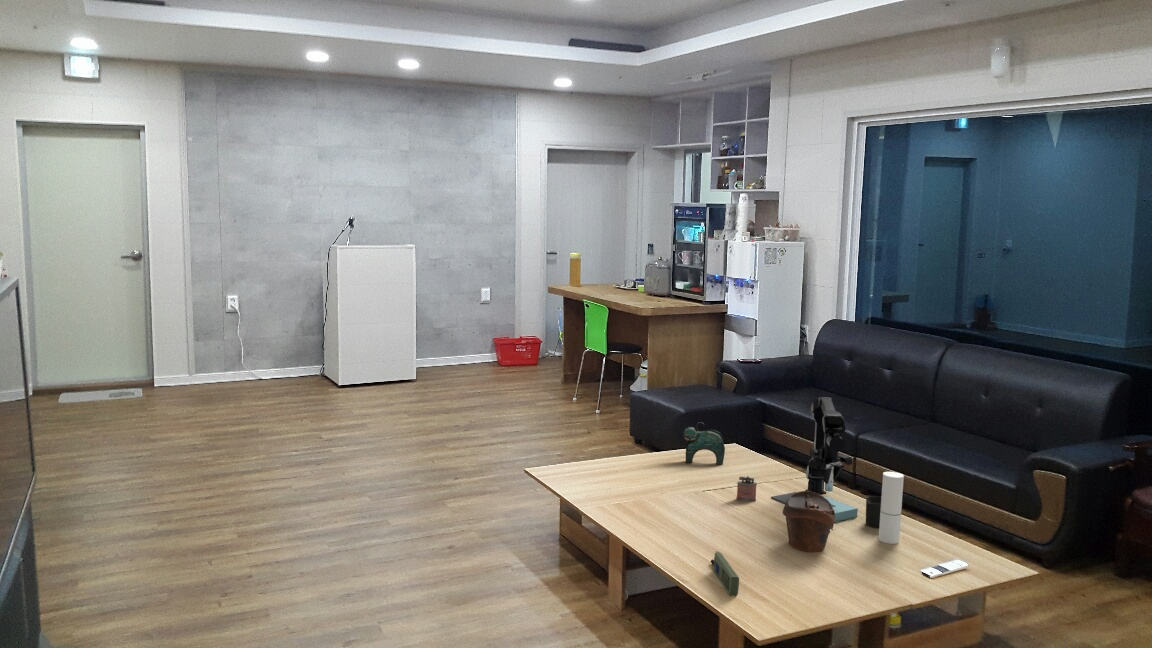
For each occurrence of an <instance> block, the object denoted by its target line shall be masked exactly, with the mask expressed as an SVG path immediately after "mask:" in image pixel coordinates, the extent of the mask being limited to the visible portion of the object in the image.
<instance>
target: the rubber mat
mask: <svg viewBox="0 0 1152 648" xmlns="http://www.w3.org/2000/svg"><path fill="white" fill-rule="evenodd" d="M795 493H797V492H796V491H793V492H789V493H783V494H778V495H774V496H770V499H772V500H775V501H777V502H780V503H782V504H784V505H785V504H786V502H787V500H788V499H789V497H790V496H792V495H793V494H795Z"/></svg>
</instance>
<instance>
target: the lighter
mask: <svg viewBox="0 0 1152 648" xmlns="http://www.w3.org/2000/svg"><path fill="white" fill-rule="evenodd" d="M738 479H739V480H738V481H737V482H736V485H737V487H736V488H737V489H736V501H740V502H741V501H742V502H756V501H757V498H756V497H757V485H758V483H757V482H755V477H752V476H751V477H750V476H739V477H738Z"/></svg>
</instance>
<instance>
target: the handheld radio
mask: <svg viewBox="0 0 1152 648" xmlns="http://www.w3.org/2000/svg"><path fill="white" fill-rule="evenodd" d="M710 563H711V565H712V566H713V572H714V574H715V575H716V577H717V579H718V580H719V581H720V584H721V585H722V586H723V588H724V589H725V591H726V592H727V594H728V595H729V596H730V597H737V596H738V594H739V585H740V577H739V575H738V574H737V572H736V571H735V570H734V568H733V567H732V566H731V565H730V563H729V561H728V560H727V559H726V557H725V556H724V555H723V554H722V552H720V551H718V550H717V551H715V553H714V557H713V558H712V559H710Z"/></svg>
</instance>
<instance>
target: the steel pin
mask: <svg viewBox="0 0 1152 648" xmlns="http://www.w3.org/2000/svg"><path fill="white" fill-rule="evenodd" d="M829 468H831V469H832V471H831V474H830V478H829V481H828V484H825V483H824V491H826V492H833V491H834V483H833V477H834V466H833V465H830V466H829Z"/></svg>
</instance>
